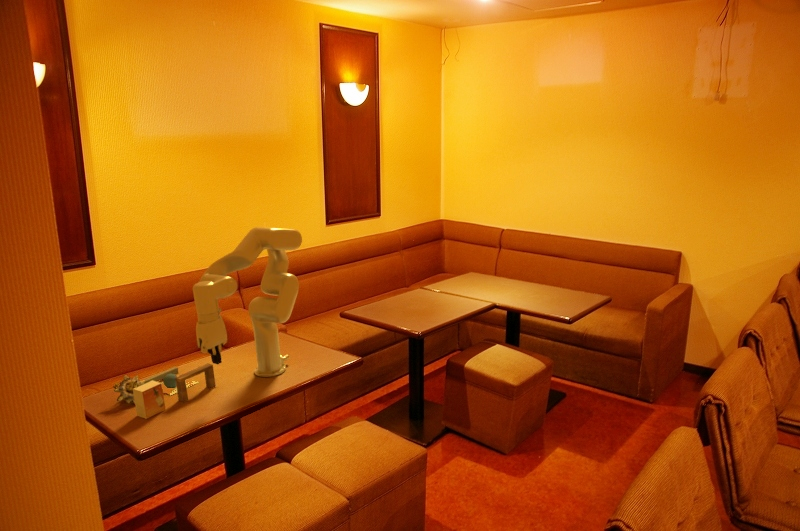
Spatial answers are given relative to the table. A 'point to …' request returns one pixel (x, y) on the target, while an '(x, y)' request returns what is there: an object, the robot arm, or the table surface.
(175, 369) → the grey square bar
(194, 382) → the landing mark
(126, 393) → the passion flower
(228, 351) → the table surface
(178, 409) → the table surface
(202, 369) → the bridge
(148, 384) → the small box
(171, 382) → the ball
